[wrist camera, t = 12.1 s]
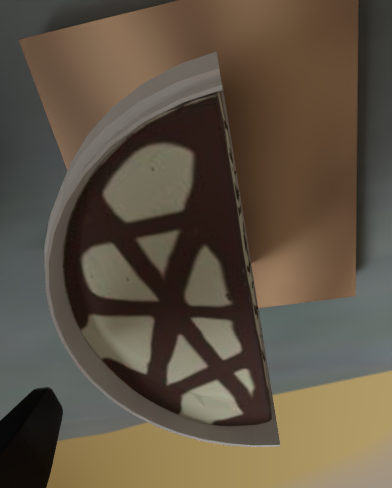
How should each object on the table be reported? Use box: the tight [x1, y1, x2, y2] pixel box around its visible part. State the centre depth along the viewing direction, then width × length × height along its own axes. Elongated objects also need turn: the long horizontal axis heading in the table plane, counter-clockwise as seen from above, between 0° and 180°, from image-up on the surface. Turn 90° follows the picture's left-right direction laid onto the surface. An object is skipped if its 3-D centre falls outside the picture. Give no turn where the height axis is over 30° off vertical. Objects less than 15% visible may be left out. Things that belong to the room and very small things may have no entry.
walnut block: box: [19, 0, 359, 308], centre depth 19 cm, size 14×16×2 cm
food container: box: [45, 51, 280, 447], centre depth 14 cm, size 12×6×10 cm, turn 12°
